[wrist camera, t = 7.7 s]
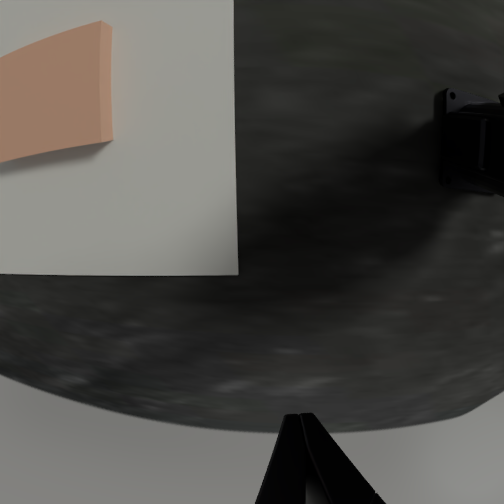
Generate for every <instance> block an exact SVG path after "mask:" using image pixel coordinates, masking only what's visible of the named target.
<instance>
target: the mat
mask: <svg viewBox="0 0 504 504" xmlns="http://www.w3.org/2000/svg"><path fill="white" fill-rule="evenodd" d="M101 20H102V21H103V22H105V23H107V24H108V25H110V26H112V51H111V103H112V128H113V140H111V141H106V142H101V143H94V144H88V145H82V146H76V147H70V148H65V149H59V150H54V151H49V152H44V153H39V154H35V155H30V156H26V157H21V158H17V159H13V160H9V161H5V162H1V163H0V274H37V275H108V276H187V275H238V242H237V206H236V164H235V111H234V0H0V57H2V56H4V55H6V54H9V53H11V52H13V51H15V50H17V49H20V48H22V47H24V46H27V45H29V44H32V43H34V42H37V41H39V40H42V39H44V38H47V37H50V36H53V35H55V34H58V33H61V32H64V31H67V30H70V29H73V28H76V27H80V26H83V25H86V24H90V23H93V22H97V21H101Z"/></svg>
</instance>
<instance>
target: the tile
mask: <svg viewBox="0 0 504 504" xmlns="http://www.w3.org/2000/svg"><path fill="white" fill-rule="evenodd" d="M111 51H112V26H110V25H108V24H107V23H105V22H103V21H102V20H101V21H97V22H93V23H90V24H86V25H83V26H80V27H76V28H73V29H70V30H67V31H64V32H61V33H58V34H55V35H53V36H50V37H47V38H44V39H42V40H39V41H37V42H34V43H32V44H29V45H27V46H24V47H22V48H20V49H17V50H15V51H13V52H11V53H9V54H6V55H4V56H2V57H0V163H1V162H5V161H9V160H13V159H17V158H21V157H26V156H30V155H35V154H39V153H44V152H49V151H54V150H59V149H65V148H70V147H76V146H82V145H88V144H94V143H101V142H106V141H111V140H113V128H112V103H111Z"/></svg>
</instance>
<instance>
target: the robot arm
mask: <svg viewBox="0 0 504 504" xmlns="http://www.w3.org/2000/svg"><path fill="white" fill-rule="evenodd" d="M450 93H451V94H452V99H451V98H450ZM498 97H499V100H500V103H498V102H495V101H492V100H489V99H486V98H483V97H480V96H477V95H474V94H471V93H467V92H464V91H461V90H457V89H454V88H447V89H445V90H444V93H443V118H442V138H441V163H440V174H439V182H440V184H441V185H442V186H443V187H446V188H452V189H462V190H471V191H480V192H489V193H495V194H498V195H500V196H502V197H504V93H502V94H500V95H498ZM446 177H448V181H447V182H445V179H446ZM255 504H386V503H385V502H384V501H383V500H382V499H381V497H380V496H379V495H378V494H377V493H375V490H374V489H373V488H372V487H371V485H370V484H369V483H368V482H367V481H366V480H365V478H364V477H363V476H362V475H361V473H360V472H359V471H358V470H357V468H356V467H355V466H354V465H353V463H352V462H351V461H350V460H349V458H348V457H347V456H346V455H345V453H344V452H343V451H342V450H341V448H340V447H339V446H338V445H337V443H336V442H335V441H334V440H333V438H332V437H331V436H330V434H329V433H328V432H327V431H326V429H325V428H324V427H323V425H322V424H321V423H320V422H319V420H318V419H317V418H316V416H315V415H314V414H313V413H301V414H299V415H298V414H286V415H285V416H284V418H283V421H282V425H281V428H280V431H279V434H278V438H277V441H276V444H275V447H274V450H273V453H272V456H271V459H270V462H269V465H268V468H267V471H266V474H265V476H264V480H263V482H262V485H261V488H260V491H259V493H258V496H257V499H256V502H255Z"/></svg>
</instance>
